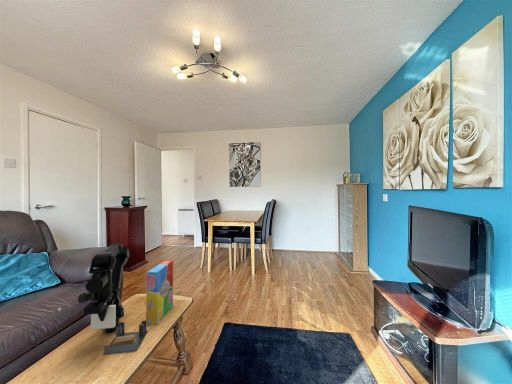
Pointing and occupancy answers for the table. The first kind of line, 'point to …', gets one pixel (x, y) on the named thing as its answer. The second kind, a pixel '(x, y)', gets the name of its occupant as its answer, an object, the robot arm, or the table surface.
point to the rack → (121, 332)
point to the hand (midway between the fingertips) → (103, 320)
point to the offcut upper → (124, 340)
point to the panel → (108, 321)
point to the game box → (159, 292)
